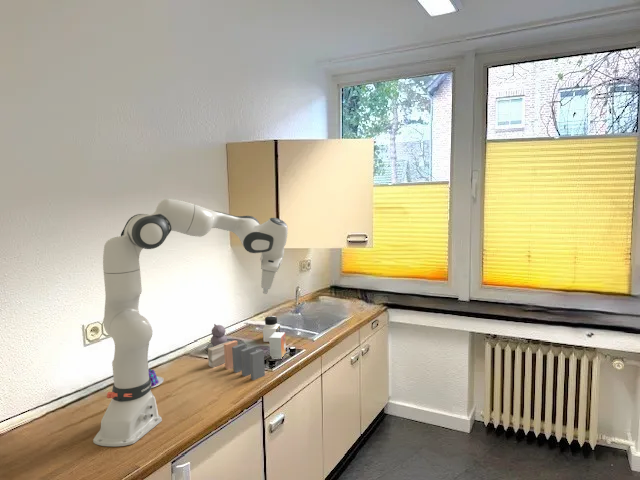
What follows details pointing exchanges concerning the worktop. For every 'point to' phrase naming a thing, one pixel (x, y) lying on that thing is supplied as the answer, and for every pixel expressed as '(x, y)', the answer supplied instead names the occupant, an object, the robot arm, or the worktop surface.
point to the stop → (216, 355)
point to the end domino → (229, 353)
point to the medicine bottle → (270, 327)
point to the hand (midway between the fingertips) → (266, 287)
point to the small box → (277, 344)
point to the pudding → (154, 378)
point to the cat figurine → (218, 335)
